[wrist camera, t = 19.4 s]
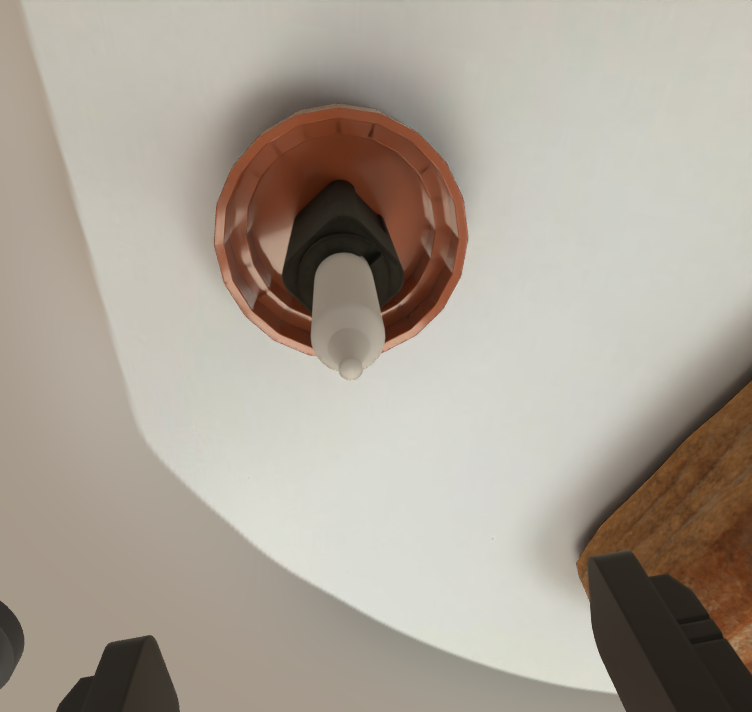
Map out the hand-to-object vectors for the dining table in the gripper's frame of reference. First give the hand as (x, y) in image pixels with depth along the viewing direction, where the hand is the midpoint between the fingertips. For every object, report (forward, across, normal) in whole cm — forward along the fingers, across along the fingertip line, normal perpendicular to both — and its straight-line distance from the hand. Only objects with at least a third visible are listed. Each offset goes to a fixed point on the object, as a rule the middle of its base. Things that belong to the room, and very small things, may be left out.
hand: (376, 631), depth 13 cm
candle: (+38, 0, 0) cm, 38 cm away
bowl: (+38, 0, 0) cm, 38 cm away
